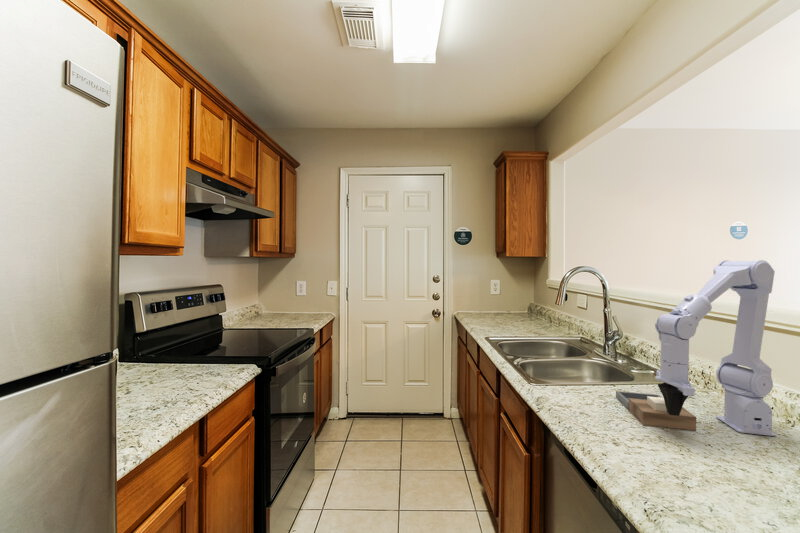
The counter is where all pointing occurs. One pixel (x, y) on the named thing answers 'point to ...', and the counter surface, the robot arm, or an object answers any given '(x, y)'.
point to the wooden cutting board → (661, 416)
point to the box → (625, 397)
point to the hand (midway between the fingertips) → (673, 414)
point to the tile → (656, 403)
